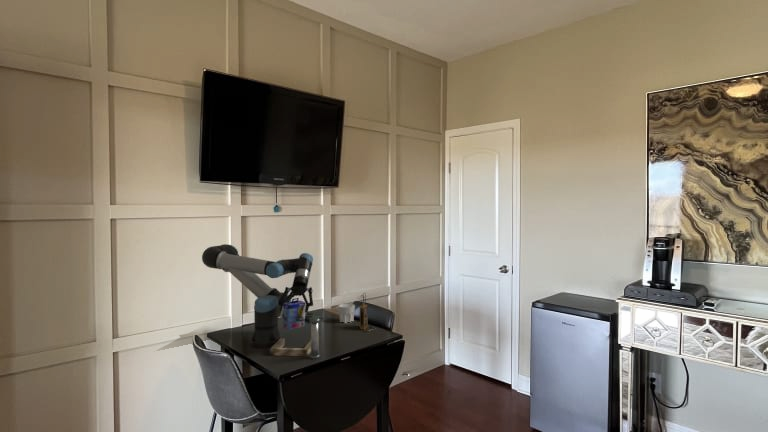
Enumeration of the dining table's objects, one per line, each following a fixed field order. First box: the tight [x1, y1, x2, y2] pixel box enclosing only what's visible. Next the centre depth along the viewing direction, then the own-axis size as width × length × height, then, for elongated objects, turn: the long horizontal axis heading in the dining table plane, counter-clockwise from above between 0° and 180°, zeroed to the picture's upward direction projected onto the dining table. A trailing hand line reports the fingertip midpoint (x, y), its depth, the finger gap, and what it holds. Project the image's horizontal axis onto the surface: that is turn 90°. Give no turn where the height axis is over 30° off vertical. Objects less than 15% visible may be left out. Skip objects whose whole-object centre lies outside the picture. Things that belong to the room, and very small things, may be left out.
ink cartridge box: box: [282, 297, 306, 331], centre depth 202 cm, size 10×6×14 cm, turn 134°
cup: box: [337, 303, 356, 324], centre depth 253 cm, size 10×10×10 cm
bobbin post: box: [308, 317, 321, 360], centre depth 191 cm, size 5×5×18 cm
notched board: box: [269, 337, 311, 357], centre depth 201 cm, size 18×16×3 cm
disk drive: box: [305, 312, 324, 323], centre depth 258 cm, size 10×3×15 cm
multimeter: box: [359, 292, 378, 333], centre depth 237 cm, size 15×10×20 cm
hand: (292, 317), depth 199 cm, fingers closed on ink cartridge box, 10 cm apart
